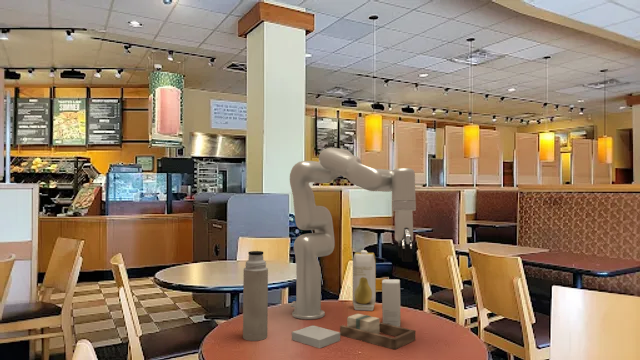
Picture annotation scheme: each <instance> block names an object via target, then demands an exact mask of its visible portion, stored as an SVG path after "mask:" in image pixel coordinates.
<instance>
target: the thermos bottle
mask: <svg viewBox="0 0 640 360" xmlns="http://www.w3.org/2000/svg"><path fill="white" fill-rule="evenodd" d="M247 252H248V259H247V260H246V261H245V267H244V268H243V283H242V284H243V292H242V293H243V295H242V296H243V299H242V300H243V303H242V307H243V308H242V338H243V339H244V340H245V341H250V342H252V341H253V342H254V341H255V342H256V341H257V342H258V341H262V340H265V339H266V338H268V331H269V330H268V316H269V315H268V310H269V309H268V304H269V303H268V302H269V299H268V294H269V293H268V292H269V285H268V284H269V276H268V275H269V268H268V267H266V266H267V262H266V261H265V260H264V251H261V250H252V251H247Z"/></svg>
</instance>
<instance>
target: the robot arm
mask: <svg viewBox="0 0 640 360" xmlns="http://www.w3.org/2000/svg"><path fill="white" fill-rule="evenodd" d="M415 173H416V172H415V169H413V168H410V167H409V168H408V167H407V168H406V167H402V168H401V167H399V168H394V169H387V168H386V169H385V168H373V167H371V166H367V165H365V164H363V163H362V160H361V159H360V158H359V157H358V156H356V155H353V153H352V152H350V151H349V150H348V149H346V148H338V147H337V148H336V147H327V148H324V149H322V150H321V152H320V153H319V155H318V161H314V160H302V161H298V162H297V163H295V164H294V165H293V166H292V168H291V170H290V173H289V186H290V189H291V193H292V199H293V202H292V203H293V211H294V220H295V224H296V227H297V228H298V229H299V230H302V231H310V230H311V231H314V232H312V233H311V232H310V233H304V234H301V235H299V236H297V237H296V238H295V240H294V243H293V251H294V255H295V265H296V266H295V267H296V269H295V270H296V273H295V275H296V295H295V296H296V298H295V299H296V300H293V301H292V303H290V307H292V308H293V309H294V310H293V311H292V313H291V315H292V317H294V318H296V319H299V320H316V319H322V318H323V317H325V310H322V307H321V306H322V303H321V301H322V293H321V292H322V287H321V286H322V276H321V274H322V271H321V266H320V262H319V260H318V258H320V257H327V256H330V255H331V254H332V253H333V251H335V250H334V249H335V244H336V243H335V233H334V232H335V231H334V223H333V217H332V214H331V212H330V210H329V208H327V207H326V206H323V205H317V204H316V200H315V197H316V196H315V193H314V191H313V189H312V187H311V186H310V183H314V184H328V183H330V182H332V181H334V180H336V179H337V178H339V177H340V176H341V177H344V178H346V179H347V180H348V181H349V182H350V183H351V184H353V185H354V186H356V187H359V188H362V189H364V190H366V191H368V192H383V193H384V192H385V193H386V192H387V193H388V192H391V207H392V208H391V209H392V212H395V213H394V240H395V241H396V242H397V243H398V246H397V251H398V254H397V255H398V259H401V261H402V262H403V263H405V262H406V263H407V262H408V263H410V262H413V244H412V242H413V241H414V217H413V214H414V213H413V212H415V211H416V210H417V204H416V203H417V201H416V199H417V198H416V174H415Z"/></svg>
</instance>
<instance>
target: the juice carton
mask: <svg viewBox="0 0 640 360" xmlns="http://www.w3.org/2000/svg"><path fill="white" fill-rule="evenodd" d="M376 260H377V259H376V256H375V253H374V252H368V251H367V250H366V249H365V250H364V249H362V250H360V251H359V252H355V253H354V254H353V259H352V304H353V308H354V310H355V311H371V312H372V311H373V310H374V309H375V305H376V298H377V296H376V292H377V291H376V290H377V288H376V286H377V285H376V284H377V283H376V280H377V278H376V276H377V274H376V273H377V272H376V271H377V268H376V267H377V266H376V265H377V262H376Z"/></svg>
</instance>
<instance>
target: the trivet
mask: <svg viewBox="0 0 640 360" xmlns="http://www.w3.org/2000/svg"><path fill="white" fill-rule="evenodd" d="M291 341H296V342H298V343H301V344H304V345H308V346H311V347H314V348H316V349H321V348H324V347H327V346H329V345H332V344H335V343H337V342H340V341H341V335H340V332H339V331H336V330H333V329H332V330H331V329H329V328H328V329H327V328H324V327H320V326H317V325H310V326H306V327H304V328H301V329H300V328H299V329H297V330H294V331H291Z"/></svg>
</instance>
